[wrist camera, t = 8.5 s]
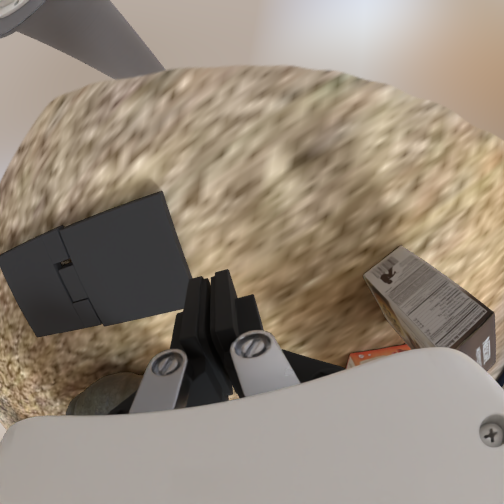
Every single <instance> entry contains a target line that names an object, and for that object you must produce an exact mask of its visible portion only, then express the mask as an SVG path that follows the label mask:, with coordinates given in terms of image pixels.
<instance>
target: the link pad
mask: <svg viewBox="0 0 504 504" xmlns="http://www.w3.org/2000/svg"><path fill="white" fill-rule="evenodd" d="M60 234H61V236H62V239H63V241H64V244H65V246H66V249H67V251H68V254H69V256H70V258H71V261H72V262H71V263H68V264H65V265H63V266H62V267H61V268H60V269H59V270H58V271H59V273H60V275H61V278H62V280H63V282H64V284H65V286H66V288H67V290H68V292H69V294H70V296H71V298H72V300H73V302H74V301H78V300H82V299H85V298H88V297H89V299H90V301H91V303H92V305H93V307H94V309H95V311H96V313H97V314H98V316H99V318H100V320H101V322H102V324H103V325H104V326H109V325H113V324H118V323H123V322H127V321H132V320H136V319H141V318H145V317H150V316H154V315H158V314H163V313H167V312H171V311H176V310H180V309H184V304H185V299H186V293H187V287H188V282H189V279H192V276H191V273H190V271H189V268H188V265H187V262H186V260H185V257H184V254H183V251H182V248H181V245H180V243H179V240H178V237H177V234H176V231H175V228H174V225H173V222H172V219H171V216H170V213H169V210H168V207H167V204H166V200H165V197H164V194H163V191H160V192H157V193H154V194H151V195H148V196H145V197H142V198H140V199H137V200H134V201H131V202H128V203H125V204H123V205H120V206H117V207H115V208H112V209H109V210H107V211H104V212H101V213H99V214H96V215H94V216H91V217H89V218H86V219H84V220H81V221H79V222H76V223H74V224H71V225H69V226H67V227H65V228H63V229H62V230H60Z"/></svg>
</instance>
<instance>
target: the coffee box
mask: <svg viewBox="0 0 504 504" xmlns="http://www.w3.org/2000/svg"><path fill="white" fill-rule="evenodd" d="M363 278H364V280H365V281H366V283H367V285H368V287H369V288H370V290H371V292H372V294H373V296H374V297H375V299H376V301H377V303H378V305H379V306H380V308H381V310H382V312H383V314H384V316H385V318H386V320H387V321H388V322H389V324H390V325H391V326H392V327H393V328H394V329H395V331H396V332H397V333H398V334H399V335H400V337H401V338H402V339H403V340H404V341H405V343H406V344H407V345H408V346H409V347H410V349H411V350H413V349H421V348H429V347H447V348H451V349H455V350H458V351H460V352H462V353H464V354H466V355H467V356H469V357H470V358H472V359H473V360H474V361H475V362H477V363H478V364H479V365H480V366H481V367H482V368H483V369H484V370H486V371H488V370H489V369H490V368H491V367H492V366H493V365H494V364H495V362H496V334H495V314H494V312H493V311H492V310H490V309H489V308H488V307H486V306H485V305H484V304H483V303H481V302H480V301H479V300H478V299H476V298H475V297H474V296H472V295H471V294H470V293H468V292H467V291H466V290H464V289H463V288H462V287H460V286H459V285H458V284H456V283H455V282H454V281H452V280H451V279H449V278H448V277H447V276H445V275H444V274H442V273H441V272H440V271H438V270H437V269H435V268H434V267H433V266H431V265H430V264H428V263H427V262H425V261H424V260H422V259H421V258H420V257H418V256H417V255H415V254H414V253H412V252H411V251H409V250H407V249H406V248H404V247H403V246H399V247H398V248H397V249H396V250H394V251H393V252H392V253H391V254H389V255H388V256H387V257H386V258H384V259H383V260H382V261H380V262H379V263H378V264H377V265H375V266H374V267H373V268H371V269H370V270H369V271H368V272H366V273H365V274H364V275H363Z"/></svg>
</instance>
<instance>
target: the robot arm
mask: <svg viewBox="0 0 504 504" xmlns="http://www.w3.org/2000/svg"><path fill="white" fill-rule="evenodd" d="M28 1H29V0H0V18H4V17H6V16H9V15H10V14H12V13H14V12H15V11H17V10H18V9H20V8H21V7H22V6H23V5H25V4H26V3H27V2H28ZM232 385H233V388H234V390H235V392H236V393H237V394H238V396H239V398H240V399H235V400H230V401H229V398H228V395H233V389H232ZM0 504H504V390H503V389H502V388H501V386H500V385H499V384H498V383H497V382H496V381H495V380H494V379H493V377H492V376H491V375H490V374H489V373H488V372H487V371H486V370H484V369H483V368H482V367H481V366H480V365H479V364H478V363H477V362H475V361H474V360H473V359H472V358H470V357H469V356H467V355H466V354H464V353H462V352H460V351H458V350H455V349H451V348H447V347H429V348H421V349H413V350H408V351H404V352H399V353H395V354H392V355H388V356H385V357H381V358H378V359H375V360H372V361H370V362H367V363H364V364H361V365H358V366H355V367H352V368H349V369H345V368H343V367H341V366H337V365H333V364H330V363H326V362H323V361H319V360H316V359H312V358H309V357H305V356H302V355H299V354H295V353H292V352H289V351H286V350H283V349H281V348H280V346H279V344H278V343H277V341H276V339H275V337H274V336H273V335H272V334H271V333H269V332H267V331H264V330H263V326H262V322H261V318H260V315H259V311H258V308H257V304H256V301H255V297H254V294H252V295H248V296H245V297H241V298H237V295H236V291H235V288H234V285H233V282H232V279H231V275H230V272H229V270H228V269H227V270H223V271H219V272H215V276H214V277H211V285H210V282H209V280H208V278H206V279H203V277H202V276H200V277H197V278H193V279H189V282H188V287H187V293H186V299H185V304H184V310H183V312H181V313H177V315H176V319H175V325H174V330H173V335H172V341H171V347H170V349H169V350H165V351H162V352H160V353H159V354H157V355H156V356H154V357H153V358H152V359H151V361H150V362H149V364H148V366H147V368H146V371H145V373H144V376H143V378H142V381H141V383H140V386H139V388H138V390H136V391H135V392H134V393H133V394H131V395H130V396H129V397H128V398H126V399H125V400H124V401H123V402H121V403H120V404H119V405H118V406H116V407H115V408H114V409H112V410H111V411H110V412H109V413H108V414H107V415H90V416H74V415H63V416H48V415H47V416H36V417H31V418H27V419H24V420H21V421H19V422H17V423H15V424H13V425H12V426H10V427H9V428H8V429H7V431H6V433H5V434H4V436H3V438H2V440H1V442H0Z"/></svg>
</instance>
